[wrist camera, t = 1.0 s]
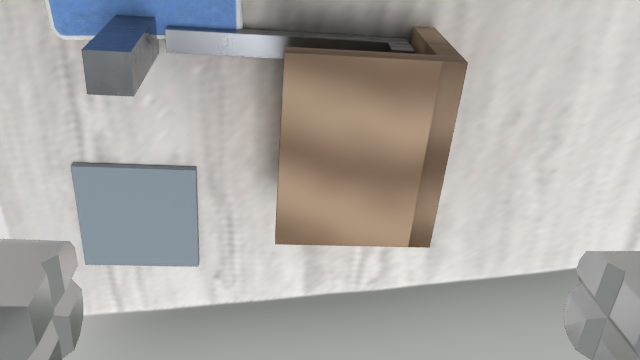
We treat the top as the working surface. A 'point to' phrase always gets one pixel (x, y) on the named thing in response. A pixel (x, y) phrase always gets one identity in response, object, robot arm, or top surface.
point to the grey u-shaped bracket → (198, 48)
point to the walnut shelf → (366, 142)
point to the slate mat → (137, 214)
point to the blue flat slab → (163, 3)
